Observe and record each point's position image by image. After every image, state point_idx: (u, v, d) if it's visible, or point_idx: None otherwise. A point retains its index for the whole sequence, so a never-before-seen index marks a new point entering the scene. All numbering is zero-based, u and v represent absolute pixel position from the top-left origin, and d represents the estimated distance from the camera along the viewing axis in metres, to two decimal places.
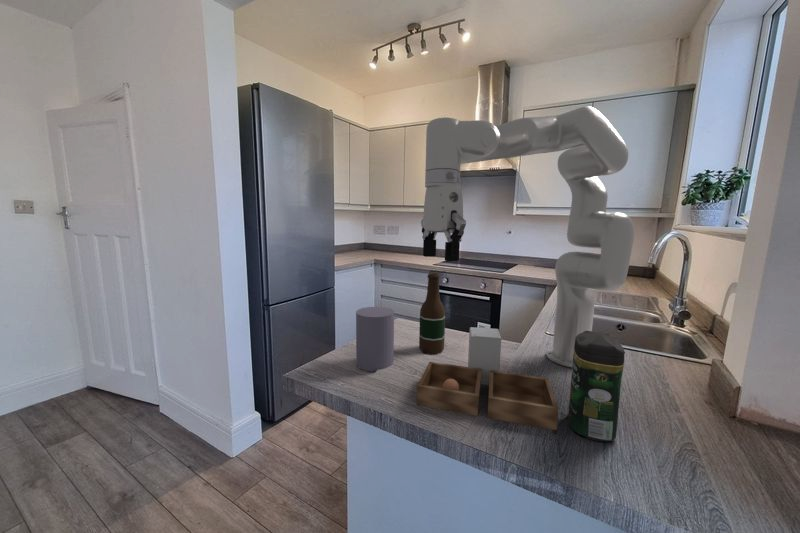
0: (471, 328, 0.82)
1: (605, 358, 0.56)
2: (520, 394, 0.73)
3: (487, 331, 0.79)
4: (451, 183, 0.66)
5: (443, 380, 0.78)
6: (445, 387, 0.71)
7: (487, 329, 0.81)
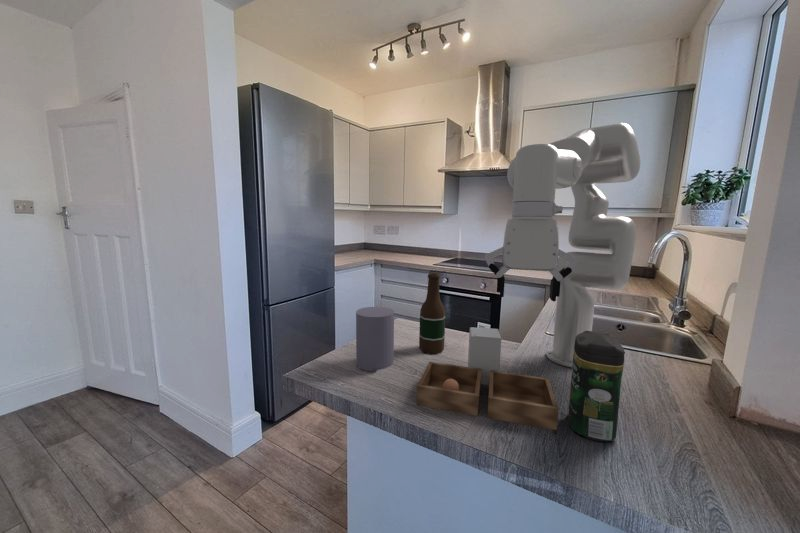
0: (471, 328, 0.82)
1: (604, 358, 0.56)
2: (520, 394, 0.73)
3: (487, 331, 0.79)
4: None
5: (443, 380, 0.78)
6: (445, 387, 0.71)
7: (487, 329, 0.81)
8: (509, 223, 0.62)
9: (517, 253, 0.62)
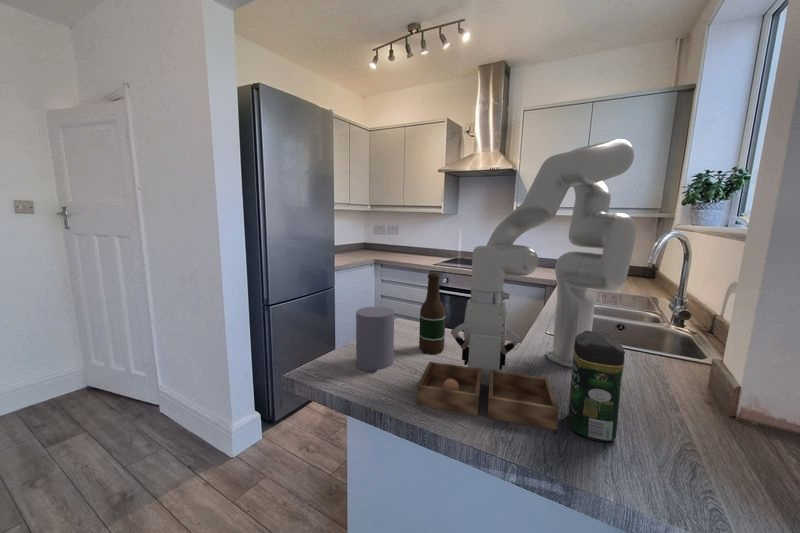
0: None
1: (605, 358, 0.56)
2: (520, 394, 0.73)
3: None
4: None
5: (443, 380, 0.78)
6: (445, 387, 0.71)
7: None
8: (468, 305, 0.78)
9: (474, 330, 0.77)
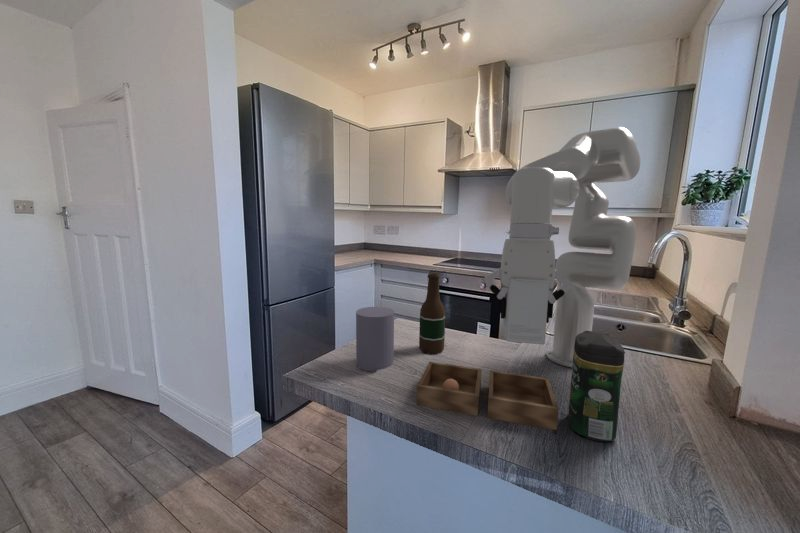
0: None
1: (605, 358, 0.56)
2: (520, 394, 0.73)
3: None
4: None
5: (443, 380, 0.78)
6: (445, 387, 0.71)
7: None
8: (506, 243, 0.63)
9: (514, 273, 0.63)
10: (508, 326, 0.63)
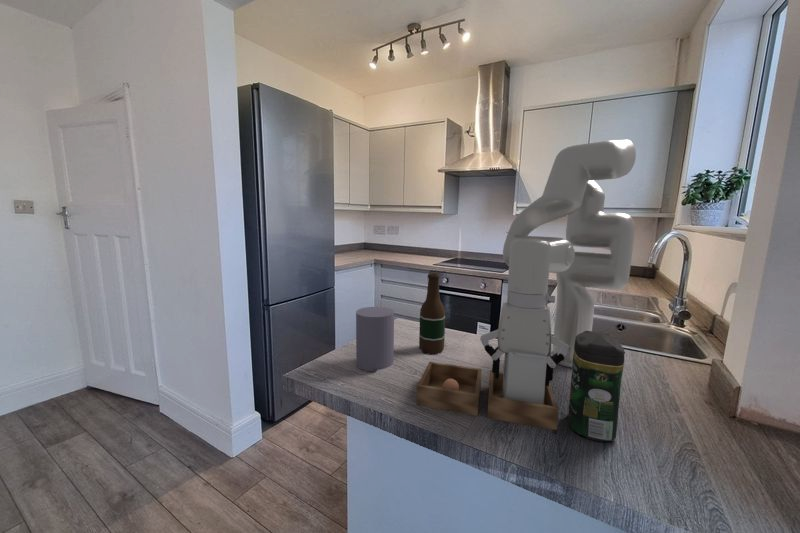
0: None
1: (605, 358, 0.56)
2: None
3: None
4: None
5: (443, 380, 0.78)
6: (445, 387, 0.71)
7: None
8: (504, 310, 0.65)
9: (511, 340, 0.64)
10: (507, 398, 0.65)
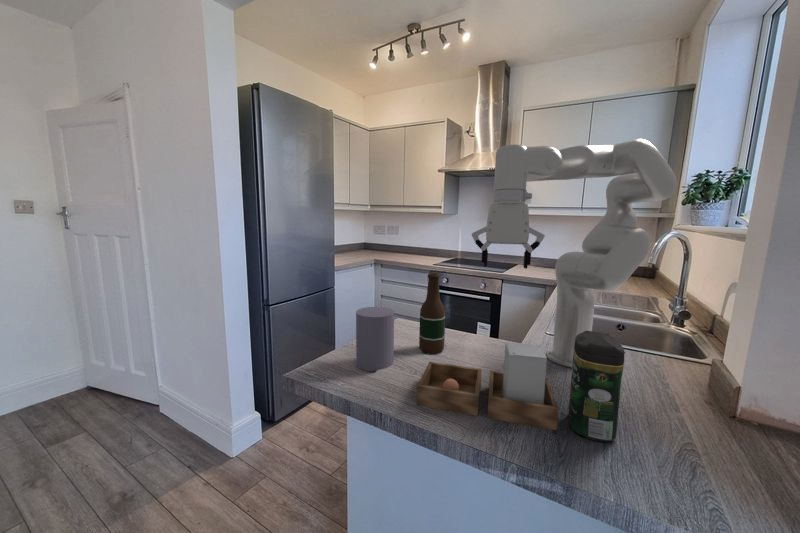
0: (507, 344, 0.69)
1: (605, 358, 0.56)
2: None
3: (528, 348, 0.67)
4: (524, 202, 0.78)
5: (443, 380, 0.78)
6: (445, 387, 0.71)
7: (527, 345, 0.68)
8: (491, 207, 0.79)
9: (497, 230, 0.79)
10: (507, 398, 0.65)
